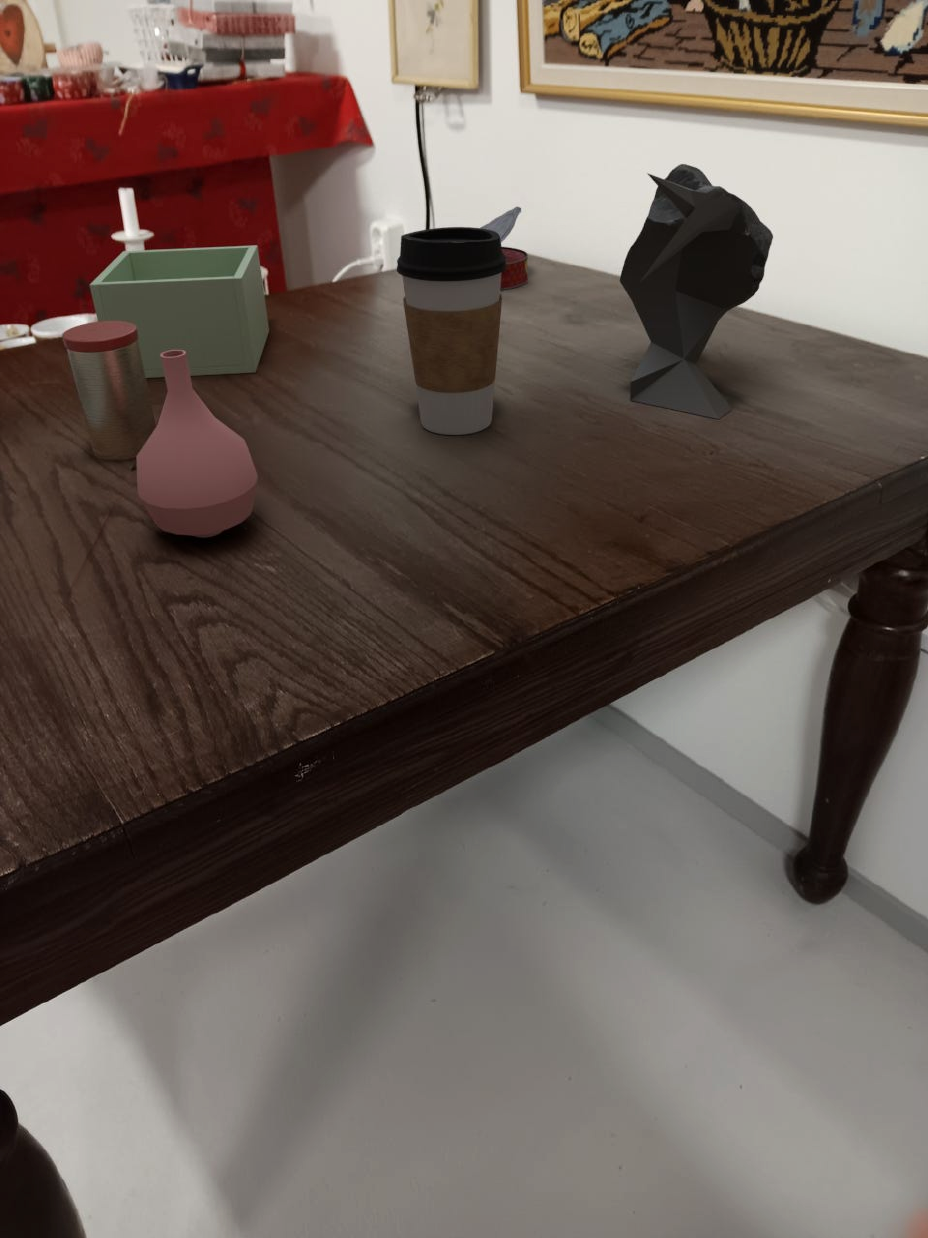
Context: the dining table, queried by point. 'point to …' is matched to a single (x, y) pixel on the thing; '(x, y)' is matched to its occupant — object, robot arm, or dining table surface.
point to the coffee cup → (453, 323)
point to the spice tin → (111, 387)
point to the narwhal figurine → (690, 284)
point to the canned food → (510, 251)
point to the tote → (189, 306)
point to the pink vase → (193, 463)
